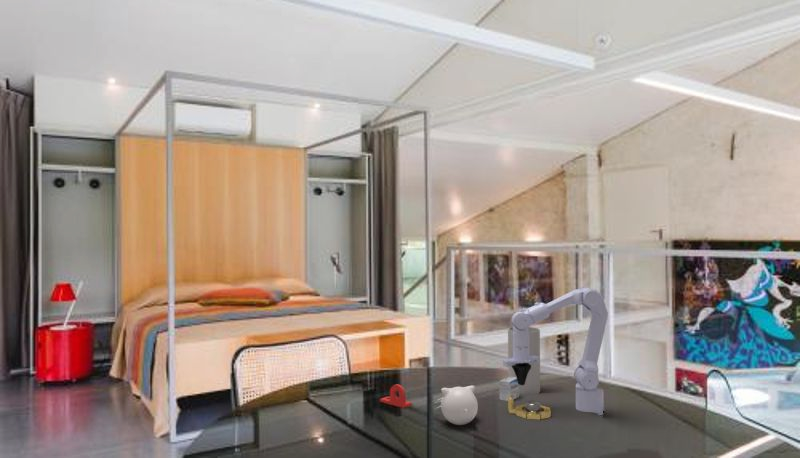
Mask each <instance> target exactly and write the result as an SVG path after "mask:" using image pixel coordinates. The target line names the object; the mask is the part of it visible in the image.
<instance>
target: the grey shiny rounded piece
mask: <svg viewBox="0 0 800 458" xmlns="http://www.w3.org/2000/svg"><path fill="white" fill-rule="evenodd" d="M525 404H526V412H531V411H536V413H539V412H540V405H541V402H539V401H538V400H537V401H536V400H528V401H525Z"/></svg>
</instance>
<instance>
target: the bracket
mask: <svg viewBox="0 0 800 458" xmlns="http://www.w3.org/2000/svg"><path fill="white" fill-rule="evenodd" d="M397 392H398V393H399V396H398V395H397ZM379 401H380V402H381V403H384V404H387V405H391V406H395V407H398V408H402V409H406V408H407V407H411V406H412V405H413V404H412V402H411V401H408V400H406V391H405V388H404V386H402V385H401V384H399V383H398V384H397V383H396V384H393V385H392V386H391V387H390V389H389V396H385V397H382V398H380V399H379Z"/></svg>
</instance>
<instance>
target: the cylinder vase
mask: <svg viewBox="0 0 800 458" xmlns="http://www.w3.org/2000/svg"><path fill="white" fill-rule="evenodd" d="M507 350H508V351H507V359H510V358H513V326H511V327H508V328H507ZM529 356H537V357H539V362H533V363H529V364H530V365H531V369H530V370H529V372H528V374H527V377H526V381H525V385H519V395H534V394H536V395H537V394H539V393H540V392H541V331H540V328H538V327H534V326H530V327H529ZM507 369H508V370H507V373H508V376H507V377H516V374H515V372H514V370H513V368H512V366H509V367H507ZM516 378H517V377H516Z"/></svg>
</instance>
